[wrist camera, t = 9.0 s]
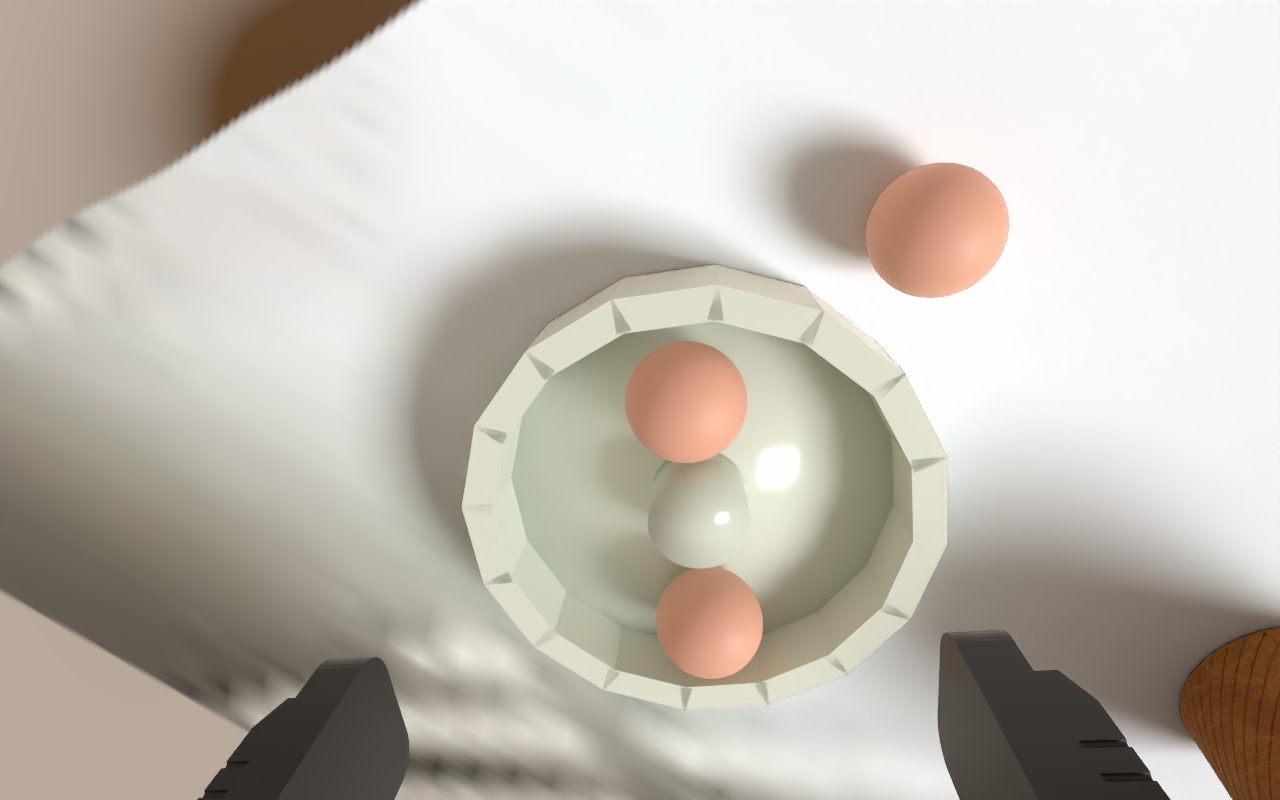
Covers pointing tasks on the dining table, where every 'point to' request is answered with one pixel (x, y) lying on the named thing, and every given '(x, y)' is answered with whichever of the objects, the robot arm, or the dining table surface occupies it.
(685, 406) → the bead
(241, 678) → the dining table surface
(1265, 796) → the disposable coffee cup
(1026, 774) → the robot arm
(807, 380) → the ring tray
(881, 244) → the peach orange ball
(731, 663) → the salmon orange ball
